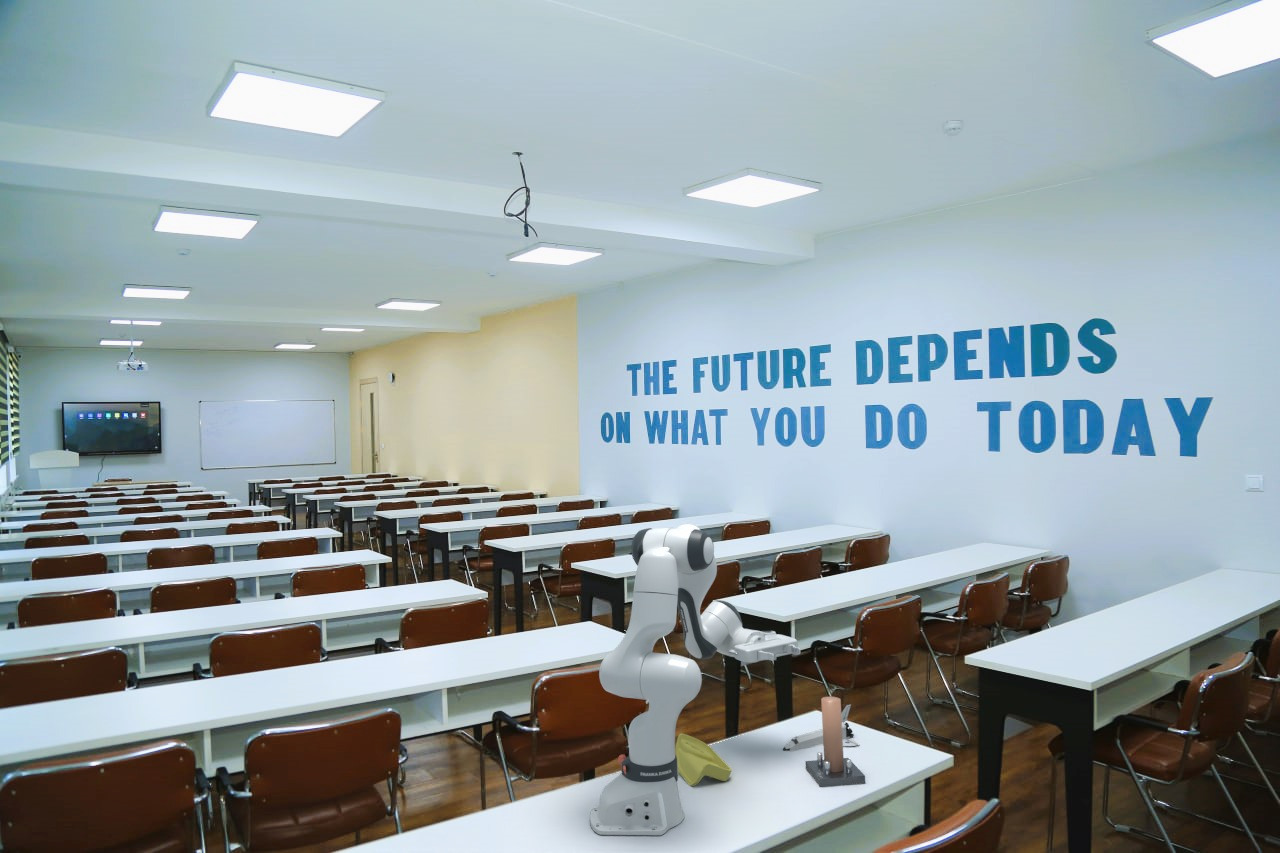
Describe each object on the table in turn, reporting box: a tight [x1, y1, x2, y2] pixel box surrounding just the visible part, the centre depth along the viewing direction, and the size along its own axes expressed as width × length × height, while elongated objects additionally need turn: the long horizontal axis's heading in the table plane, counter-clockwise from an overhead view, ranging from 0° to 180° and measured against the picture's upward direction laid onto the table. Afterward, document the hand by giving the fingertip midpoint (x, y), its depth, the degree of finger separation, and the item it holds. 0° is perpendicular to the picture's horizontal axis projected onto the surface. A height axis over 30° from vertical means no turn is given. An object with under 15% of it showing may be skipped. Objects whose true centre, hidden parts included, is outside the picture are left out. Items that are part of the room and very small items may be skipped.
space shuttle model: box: [782, 703, 860, 752], centre depth 234 cm, size 16×25×10 cm, turn 114°
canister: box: [820, 696, 844, 772], centre depth 210 cm, size 5×5×18 cm
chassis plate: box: [804, 751, 866, 788], centre depth 210 cm, size 12×12×5 cm
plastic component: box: [675, 732, 733, 787], centre depth 217 cm, size 20×7×10 cm
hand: (786, 654), depth 218 cm, fingers open, 8 cm apart
